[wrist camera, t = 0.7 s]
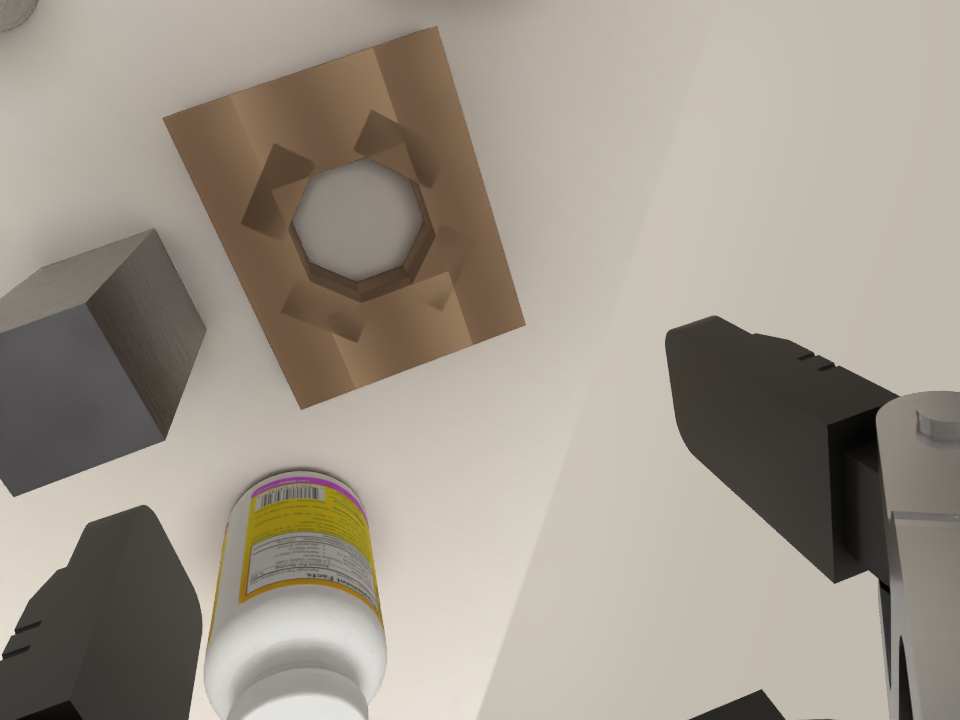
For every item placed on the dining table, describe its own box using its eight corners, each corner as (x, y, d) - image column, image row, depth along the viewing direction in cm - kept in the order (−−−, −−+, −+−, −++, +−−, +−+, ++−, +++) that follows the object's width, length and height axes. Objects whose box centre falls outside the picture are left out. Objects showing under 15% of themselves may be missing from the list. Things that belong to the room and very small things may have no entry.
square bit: (154, 228, 29) (84, 303, 19) (206, 329, 30) (165, 440, 21) (41, 267, 28) (-84, 362, 19) (100, 368, 30) (13, 497, 21)
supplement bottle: (305, 601, 37) (306, 848, 25) (197, 535, 34) (141, 779, 22) (395, 512, 36) (439, 725, 24) (291, 438, 33) (285, 638, 22)
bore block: (423, 29, 28) (436, 25, 25) (507, 303, 33) (525, 325, 30) (176, 113, 27) (162, 117, 24) (301, 381, 32) (301, 409, 30)
